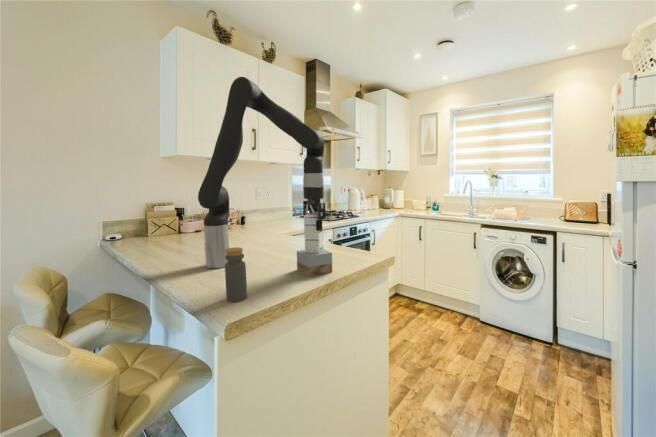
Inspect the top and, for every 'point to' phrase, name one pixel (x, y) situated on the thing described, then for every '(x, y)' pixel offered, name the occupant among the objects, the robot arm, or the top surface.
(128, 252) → the top surface
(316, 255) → the tower top block
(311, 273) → the tower base block
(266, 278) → the top surface
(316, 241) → the syrup box
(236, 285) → the bottle
